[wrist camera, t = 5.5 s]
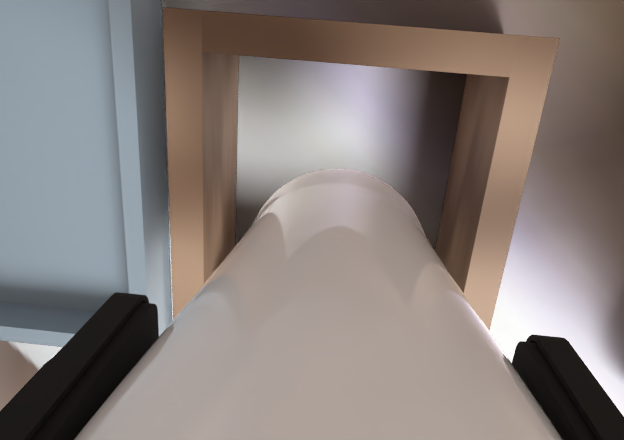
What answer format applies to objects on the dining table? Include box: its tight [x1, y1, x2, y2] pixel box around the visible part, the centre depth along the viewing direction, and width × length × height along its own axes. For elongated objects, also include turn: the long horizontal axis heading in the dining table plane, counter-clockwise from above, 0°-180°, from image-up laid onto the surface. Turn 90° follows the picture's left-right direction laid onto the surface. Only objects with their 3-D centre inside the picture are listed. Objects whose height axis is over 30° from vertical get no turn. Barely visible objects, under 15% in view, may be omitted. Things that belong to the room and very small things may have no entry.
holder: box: [163, 7, 560, 330], centre depth 19 cm, size 12×12×6 cm
